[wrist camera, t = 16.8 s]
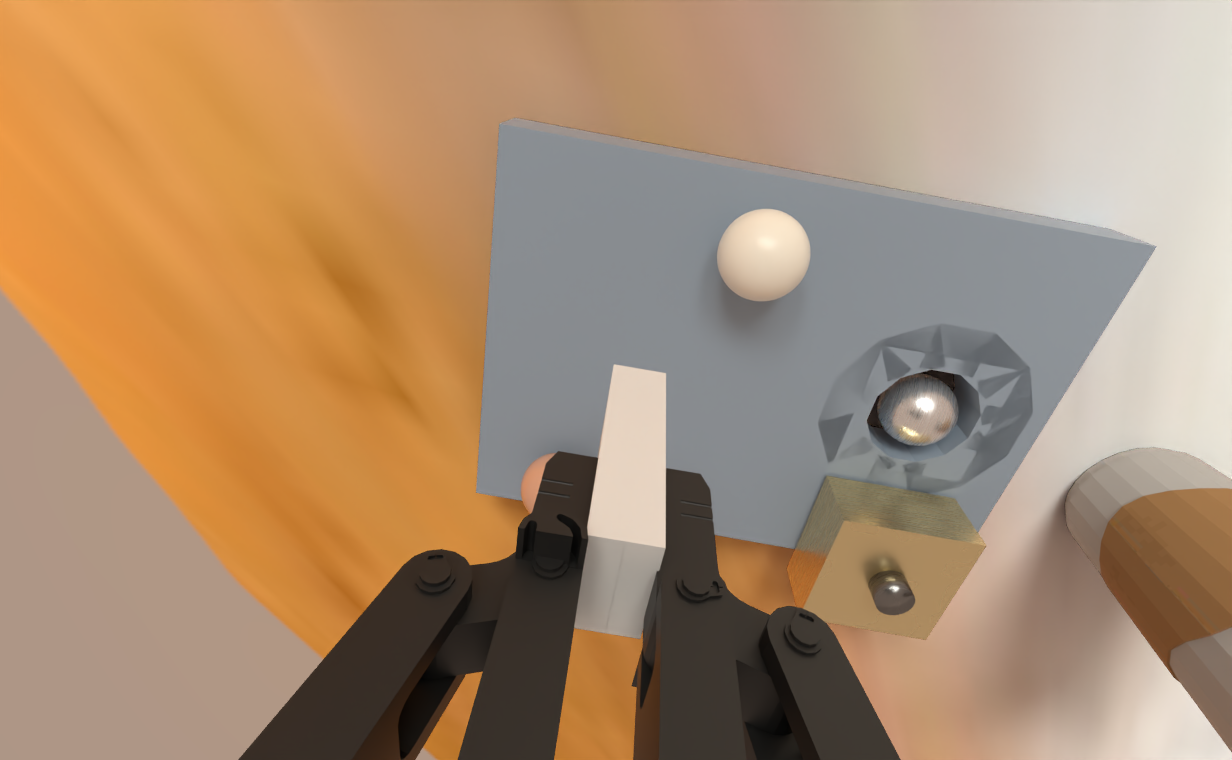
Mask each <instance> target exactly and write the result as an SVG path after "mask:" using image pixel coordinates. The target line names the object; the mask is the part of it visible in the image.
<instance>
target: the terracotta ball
mask: <svg viewBox="0 0 1232 760" xmlns="http://www.w3.org/2000/svg"><path fill="white" fill-rule="evenodd" d="M555 454H556V453H550V454H546V455H543V456H541V457H539V458H538V459H536V460H535V461H534V462H533V463H531V464H530V466H529V467H528V468H527V470H526V471H525V473H524V475H523V478H522V482H521V497H522V501H523V503H524V506H525V508H526V509H527V511H528V512H529V513H530V514H531V513H532V511H533V507H534V504H535V500H536V497H537V494H538V490H539V486H540V483H541V480H542V476H543V472H544V469H545V465H546V463H547V462H548V461H549V460H550V459H551V458H552V457H553V456H554V455H555Z"/></svg>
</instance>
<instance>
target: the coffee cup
mask: <svg viewBox="0 0 1232 760" xmlns="http://www.w3.org/2000/svg"><path fill="white" fill-rule="evenodd" d="M1065 514H1066V523H1067V527H1068V529H1069V531H1070V533H1071V535H1072V536H1073V538H1074V539H1075V540H1076V542H1077V543H1078V544H1079V546H1080V547H1081V549H1082V550H1083V551H1084V553H1085V554H1086V555H1087V557H1088V558H1089V559H1090V561H1091V562H1092V563H1093V565H1094V566H1095V568H1096V569H1097V570H1098V572H1099V573H1100V574H1101V576H1102V577H1103V579H1104V581H1105V583H1106V585H1107V587H1108V588H1109V589H1110V591H1111V592H1112V593H1113V595H1114V596H1115V598H1116V599H1117V600H1118V602H1119V603H1120V604H1121V606H1122V607H1123V609H1124V610H1125V611H1126V613H1127V614H1128V615H1129V617H1130V618H1131V619H1132V621H1133V622H1134V624H1135V625H1136V626H1137V628H1138V629H1139V630H1140V632H1141V633H1142V635H1143V636H1144V637H1145V639H1146V640H1147V641H1148V643H1149V644H1150V645H1151V647H1152V648H1153V650H1154V651H1155V652H1156V654H1157V655H1158V656H1159V658H1160V659H1161V660H1162V662H1163V663H1164V665H1165V666H1166V667H1167V669H1168V670H1169V671H1170V673H1171V674H1172V676H1173V677H1174V678H1175V679H1176V680H1178V681H1179V682H1180V683H1181V684H1182V685H1183V687H1184V688H1185V689H1186V691H1187V692H1188V694H1189V695H1190V696H1191V698H1192V699H1193V700H1194V702H1195V703H1196V704H1197V706H1198V707H1199V708H1200V710H1201V711H1202V712H1203V714H1204V715H1205V717H1206V718H1207V719H1208V721H1209V722H1210V723H1211V725H1212V726H1213V727H1214V729H1215V730H1216V731H1217V733H1218V734H1219V736H1220V737H1221V738H1222V740H1223V741H1224V742H1225V744H1226V745H1227V746H1228V748H1229V749H1230V750H1231V752H1232V480H1231V479H1230V478H1228V477H1227V476H1225V475H1224V474H1222V473H1221V472H1219V471H1217V470H1216V469H1214V468H1213V467H1211V466H1210V465H1208V464H1206V463H1205V462H1203V461H1202V460H1200V459H1198V458H1196V457H1194V456H1191V455H1189V454H1187V453H1184V452H1177V451H1172V450H1168V449H1161V448H1137V449H1133V450H1129V451H1125V452H1121V453H1117V454H1115V455H1113V456H1111V457H1108V458H1106V459H1104V460H1101V461H1100V462H1098V463H1097V464H1095V465H1094V466H1092V467H1091V468H1089V469H1088V470H1086V471H1085V472H1084V473H1083V474H1082V475H1081V476H1080V477H1079V478H1078V479H1077V480H1076V481H1075V483H1074V484H1073V486H1072V487H1071V489H1070V490H1069V492H1068V495H1067V498H1066V502H1065Z"/></svg>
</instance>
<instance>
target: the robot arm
mask: <svg viewBox="0 0 1232 760" xmlns="http://www.w3.org/2000/svg"><path fill="white" fill-rule="evenodd" d="M711 507H712V502H711V492H710V488H709V486H708V485H707V483H706V482H705V480H704V478H703V477H702V475H701V474H699V473H693V472H687V471H681V470H675V469H670V468H666V373H662V372H656V371H650V370H644V369H638V368H633V367H627V366H621V365H615V364H614V366H613V372H612V377H611V383H610V389H609V395H608V400H607V406H606V412H605V417H604V423H603V429H602V435H601V440H600V446H599V452H598V458H597V457H591V456H585V455H579V454H573V453H567V452H561V451H558V452H557V453H556V454H555V455H554V456H553V457H552V458H551V459H550V460H549V461H548V462H547V463H546V465H545V469H544V472H543V476H542V480H541V483H540V486H539V490H538V494H537V497H536V500H535V504H534V507H533V511H532V513H531V514H529V515H528V516H527V517H525V518H524V519H523V520H522V522H521V524H520V526H519V527H518V535H517V546H516V552H515V553H513V554H512V555H511V556H509V557H507V558H505V559H503V560H500V561H497V562H493V563H487V564H478V565H469V563H468V562H467V560H466V559H465V558H464V557H462V556H461V555H459V554H457V553H456V552H452V551H447V550H442V549H440V550H430V551H426V552H423V553H421V554H418V555H416V556H414V557H413V558H411V559H410V560H409V561H408V562H407V563H405V564H404V565H403V566H402V568H401V569H400V570H399V571H398V572H397V573H396V575H395V576H394V577H393V578H392V579H391V581H390V582H389V583H388V584H387V585H386V586H385V588H384V589H383V590H382V591H381V592H380V594H379V595H378V596H377V597H376V598H375V599H374V601H373V602H372V603H371V604H370V605H369V606H368V608H367V609H366V610H365V611H364V612H363V614H362V615H361V616H360V617H359V618H358V619H357V621H356V622H355V623H354V624H353V625H352V626H351V628H350V629H349V630H348V631H347V632H346V634H345V635H344V636H343V637H342V638H341V639H340V641H339V642H338V643H337V644H336V645H335V647H334V648H333V649H332V650H331V651H330V652H329V654H328V655H327V656H326V657H325V658H324V659H323V661H322V662H321V663H320V664H319V665H318V667H317V668H316V669H315V670H314V671H313V672H312V674H311V675H310V676H309V677H308V678H307V680H306V681H305V682H304V683H303V684H302V685H301V687H300V688H299V689H298V690H297V691H296V692H295V694H294V695H293V696H292V697H291V698H290V700H289V701H288V702H287V703H286V704H285V706H284V707H283V708H282V709H281V710H280V711H279V713H278V714H277V715H276V716H275V717H274V718H273V720H272V721H271V722H270V723H269V724H268V725H267V727H266V728H265V729H264V730H263V731H262V733H261V734H260V735H259V736H258V737H257V738H256V740H255V741H254V742H253V743H252V744H251V746H250V747H249V748H248V749H247V750H246V751H245V753H244V754H243V755H242V756H241V757H240V758H239V760H415V759H416V758H417V756H418V754H419V753H420V751H421V749H422V748H423V746H424V744H425V743H426V741H427V739H428V737H429V736H430V734H431V732H432V731H433V729H434V727H435V726H436V724H437V722H438V721H439V719H440V717H441V716H442V714H443V712H444V711H445V709H446V707H447V706H448V704H449V702H450V700H451V699H452V697H453V695H454V694H455V692H456V690H457V689H458V687H459V685H460V684H461V682H462V680H463V679H464V677H465V675H466V674H469V673H475V672H482V671H483V673H482V677H481V680H480V684H479V687H478V691H477V694H476V698H475V701H474V705H473V708H472V712H471V715H470V719H469V722H468V726H467V729H466V733H465V736H464V740H463V743H462V747H461V750H460V754H459V757H458V760H554V755H555V748H556V742H557V735H558V729H559V722H560V716H561V709H562V703H563V696H564V690H565V683H566V677H567V670H568V664H569V657H570V651H571V644H572V638H573V631H574V628H577V629H583V630H589V631H595V632H601V633H607V634H613V635H619V636H625V637H631V638H637V639H640V638H641V634H642V631H643V648H642V651H641V655H640V658H639V662H638V665H637V669H636V672H635V676H634V680H633V683H632V686H634V687H637V696H636V716H635V736H634V757H633V760H900V758H899V756H898V754H897V752H896V750H895V748H894V746H893V744H892V742H891V741H890V739H889V737H888V735H887V733H886V731H885V729H884V727H883V725H882V723H881V722H880V720H879V718H878V716H877V714H876V712H875V710H874V708H873V706H872V704H871V703H870V701H869V699H868V697H867V695H866V693H865V691H864V689H863V687H862V685H861V683H860V682H859V680H858V678H857V676H856V674H855V672H854V670H853V668H852V666H851V664H850V663H849V661H848V659H847V657H846V655H845V653H844V651H843V649H842V647H841V645H840V644H839V642H838V640H837V638H836V636H835V634H834V633H833V632H832V630H831V629H830V628H829V626H828V625H827V623H825V622H824V621H823V620H822V619H820V618H819V617H818V616H817V615H815V614H814V613H812V612H810V611H807V610H805V609H803V608H799V607H792V606H786V607H782V608H778V609H776V610H775V611H774V612H773V613H772V614H771V615H769V614H767V613H764V612H762V611H760V610H758V609H756V608H754V607H751V606H749V605H747V604H746V603H744V602H742V601H740V600H739V599H738V598H736V597H735V596H734V595H733V594H731V593H730V591H729V590H728V589H727V587H726V584H725V582H724V581H723V580H722V578H721V577H720V576H719V571H718V565H717V555H716V544H715V534H714V523H713V513H712V508H711Z"/></svg>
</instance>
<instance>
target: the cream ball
mask: <svg viewBox="0 0 1232 760" xmlns="http://www.w3.org/2000/svg"><path fill="white" fill-rule="evenodd" d="M809 262H810V243H809V240H808V237H807V234H806V232H805V230H804V229H803V227H802V226H801V225H800V223H799V222H798V221H797V220H795V219H794V218H793V217H792V216H790V215H788V214H787V213H784V212H782V211H779V210H774V209H758V210H753V211H750V212H748V213H745V214H743V215H741V216H740V217H738V218H737V219H736V220H734V221H733V222H732V223H731V224H730V225H729V226H728V228H727V229H726V230H725V232H724V234H723V235H722V238H721V240H720V242H719V246H718V251H717V264H718V269H719V272H720V275H721V277H722V279H723V281H724V282H725V284H726V285H727V286H728V287H729V288H730V289H731V290H732V291H733V292H734V293H736V294H737V295H739V296H741V297H743V298H745V299H748V300H752V301H771V300H775V299H778V298H781V297H783V296H785V295H786V294H788V293H789V292H791V291H792V290H793V289H794V288H796V286H797V285H798V284H799V283H800V282H801V280H802V279H803V277H804V276H805V274H806V272H807V269H808V266H809Z"/></svg>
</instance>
